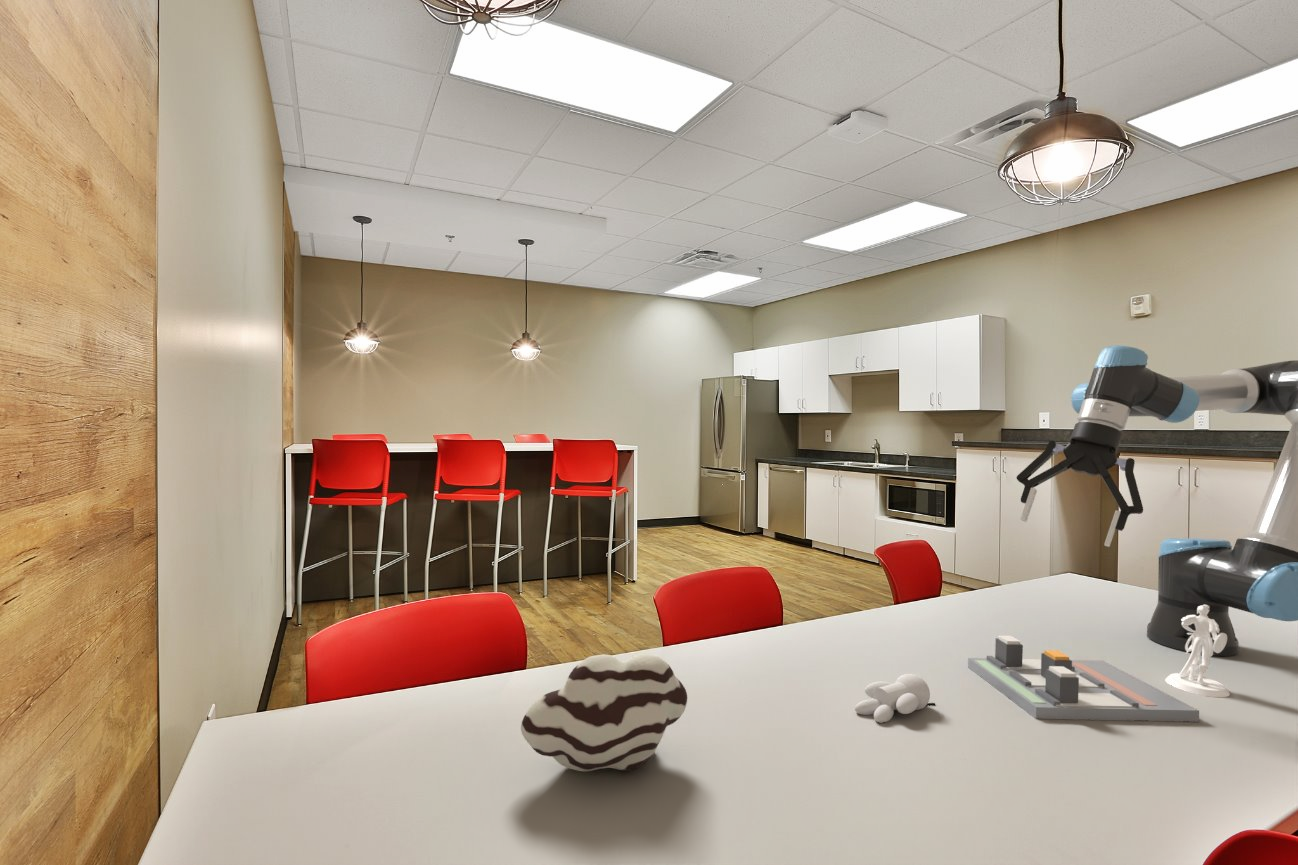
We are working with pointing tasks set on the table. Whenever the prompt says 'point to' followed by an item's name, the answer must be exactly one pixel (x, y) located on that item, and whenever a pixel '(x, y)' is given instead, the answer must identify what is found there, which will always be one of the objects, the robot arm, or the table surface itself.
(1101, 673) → the panel
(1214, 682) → the figurine
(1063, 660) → the breaker mid
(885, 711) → the toy
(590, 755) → the sculpture
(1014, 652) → the breaker left
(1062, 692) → the block
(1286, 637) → the table surface
